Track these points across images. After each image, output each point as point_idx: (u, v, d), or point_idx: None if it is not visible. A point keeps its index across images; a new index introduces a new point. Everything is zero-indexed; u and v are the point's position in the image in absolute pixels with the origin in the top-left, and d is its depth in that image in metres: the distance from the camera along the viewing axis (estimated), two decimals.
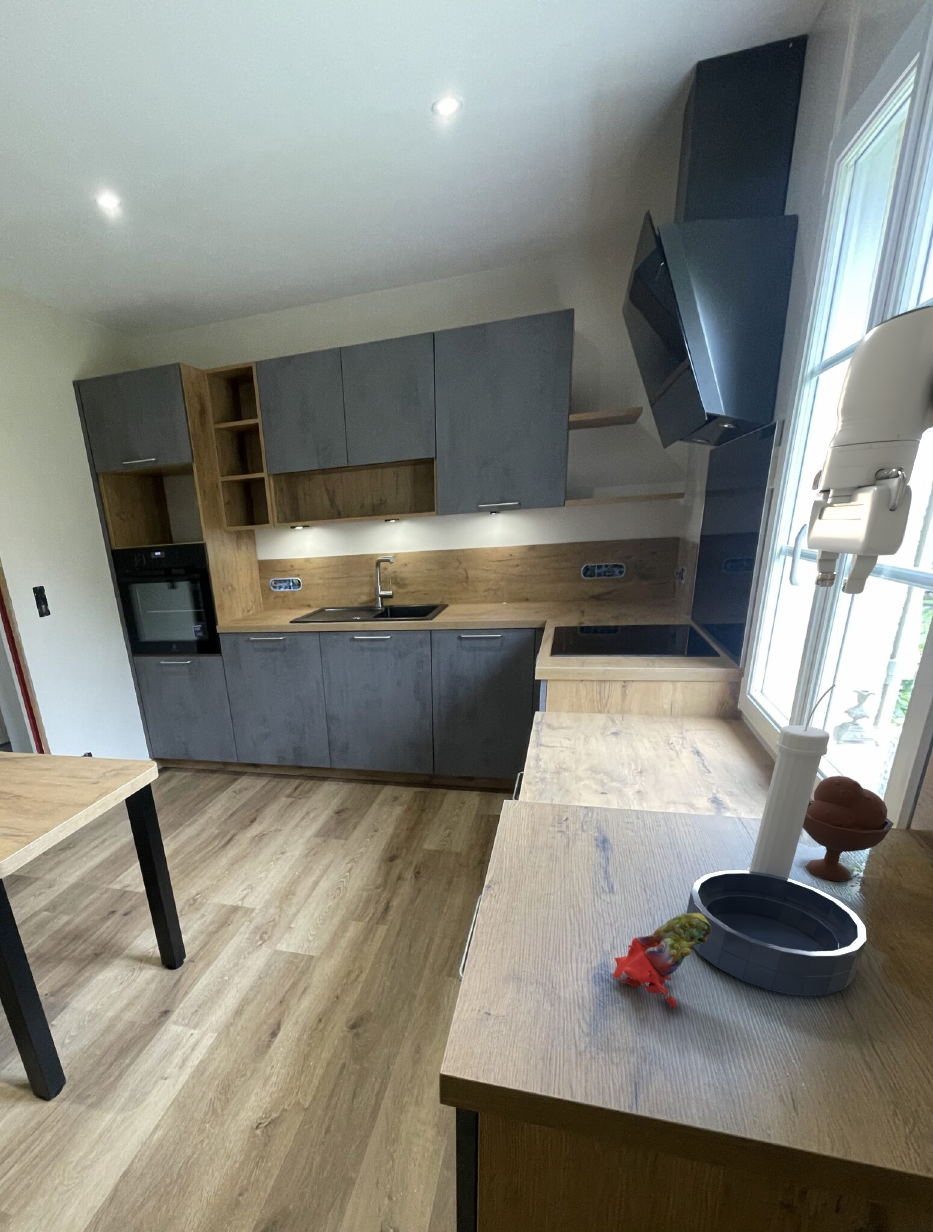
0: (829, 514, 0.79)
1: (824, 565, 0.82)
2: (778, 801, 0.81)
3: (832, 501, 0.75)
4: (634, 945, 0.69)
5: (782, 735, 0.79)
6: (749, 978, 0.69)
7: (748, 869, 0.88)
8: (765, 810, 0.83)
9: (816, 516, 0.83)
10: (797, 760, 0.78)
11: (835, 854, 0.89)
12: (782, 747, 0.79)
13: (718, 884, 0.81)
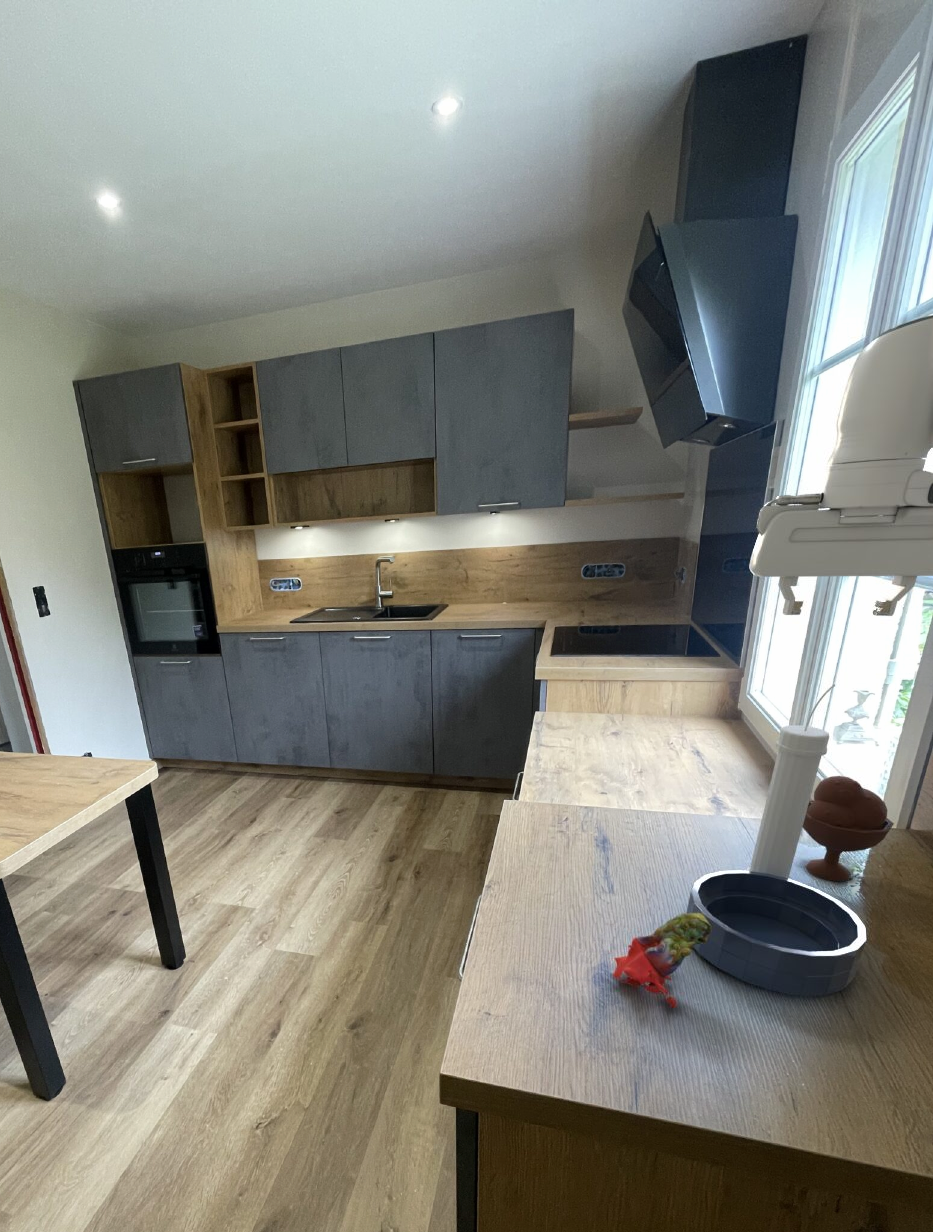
0: None
1: (893, 591, 0.72)
2: (778, 801, 0.81)
3: None
4: (634, 945, 0.69)
5: (782, 735, 0.79)
6: (749, 978, 0.69)
7: (748, 869, 0.88)
8: (765, 810, 0.83)
9: None
10: (797, 760, 0.78)
11: (835, 854, 0.89)
12: (782, 747, 0.79)
13: (718, 884, 0.81)
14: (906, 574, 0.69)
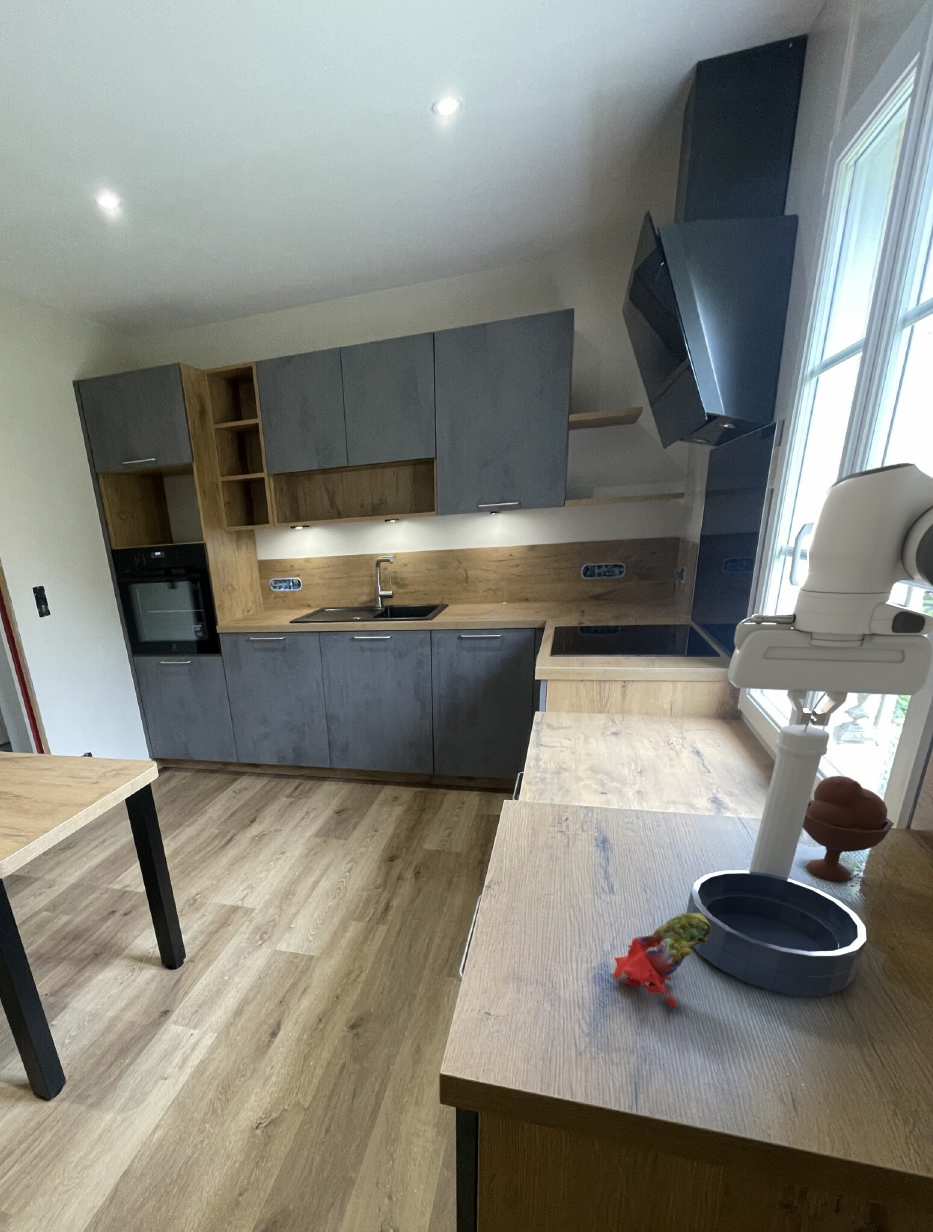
0: None
1: (828, 703, 0.77)
2: (778, 801, 0.81)
3: None
4: (634, 945, 0.69)
5: (782, 735, 0.79)
6: (749, 978, 0.69)
7: (748, 869, 0.88)
8: (765, 810, 0.83)
9: None
10: (797, 760, 0.78)
11: (835, 854, 0.89)
12: (781, 747, 0.79)
13: (718, 884, 0.81)
14: (873, 692, 0.73)
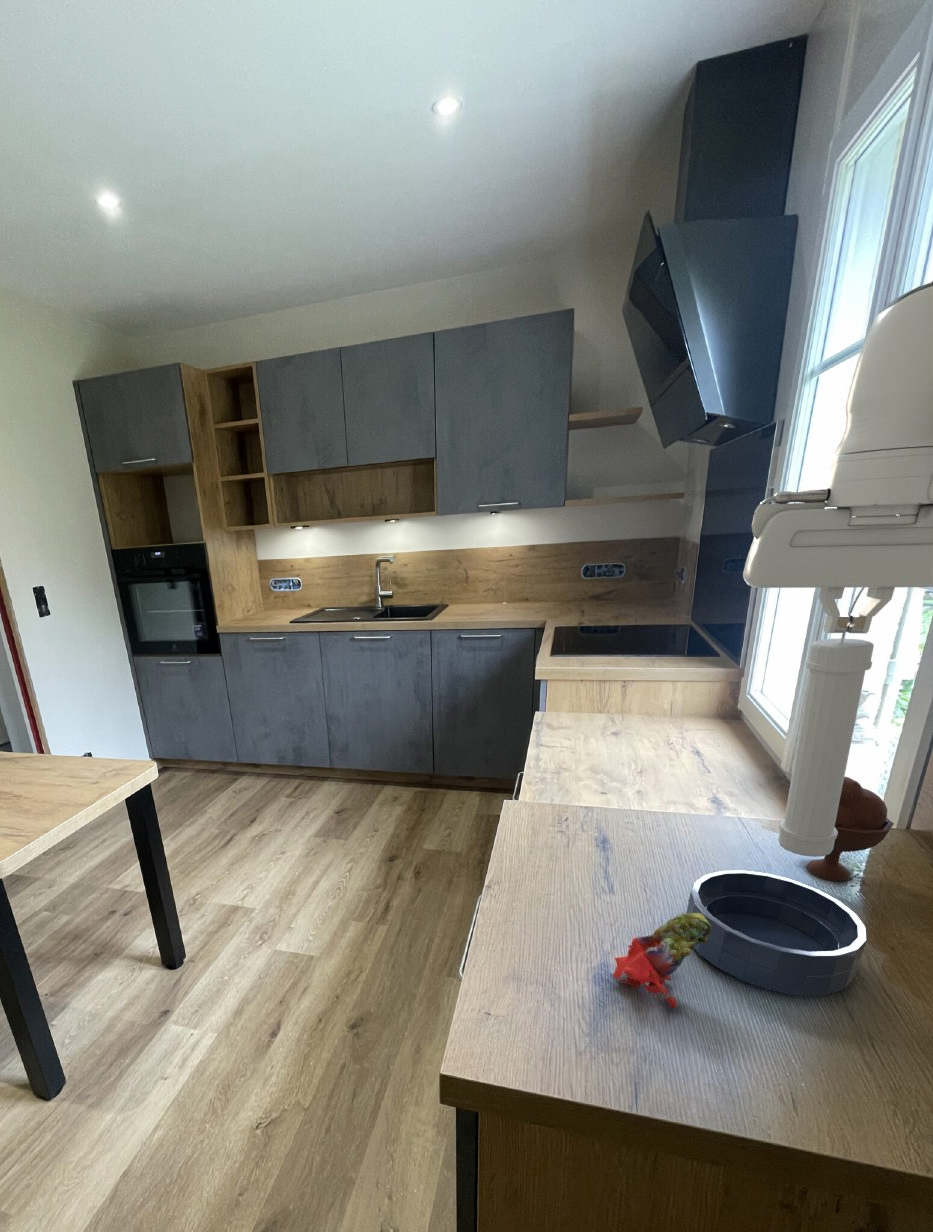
0: None
1: (868, 605, 0.62)
2: (819, 735, 0.65)
3: None
4: (634, 945, 0.69)
5: (816, 651, 0.63)
6: (749, 978, 0.69)
7: (782, 824, 0.72)
8: (800, 749, 0.67)
9: None
10: (840, 679, 0.62)
11: (835, 854, 0.89)
12: (818, 666, 0.63)
13: (718, 884, 0.81)
14: (929, 585, 0.58)
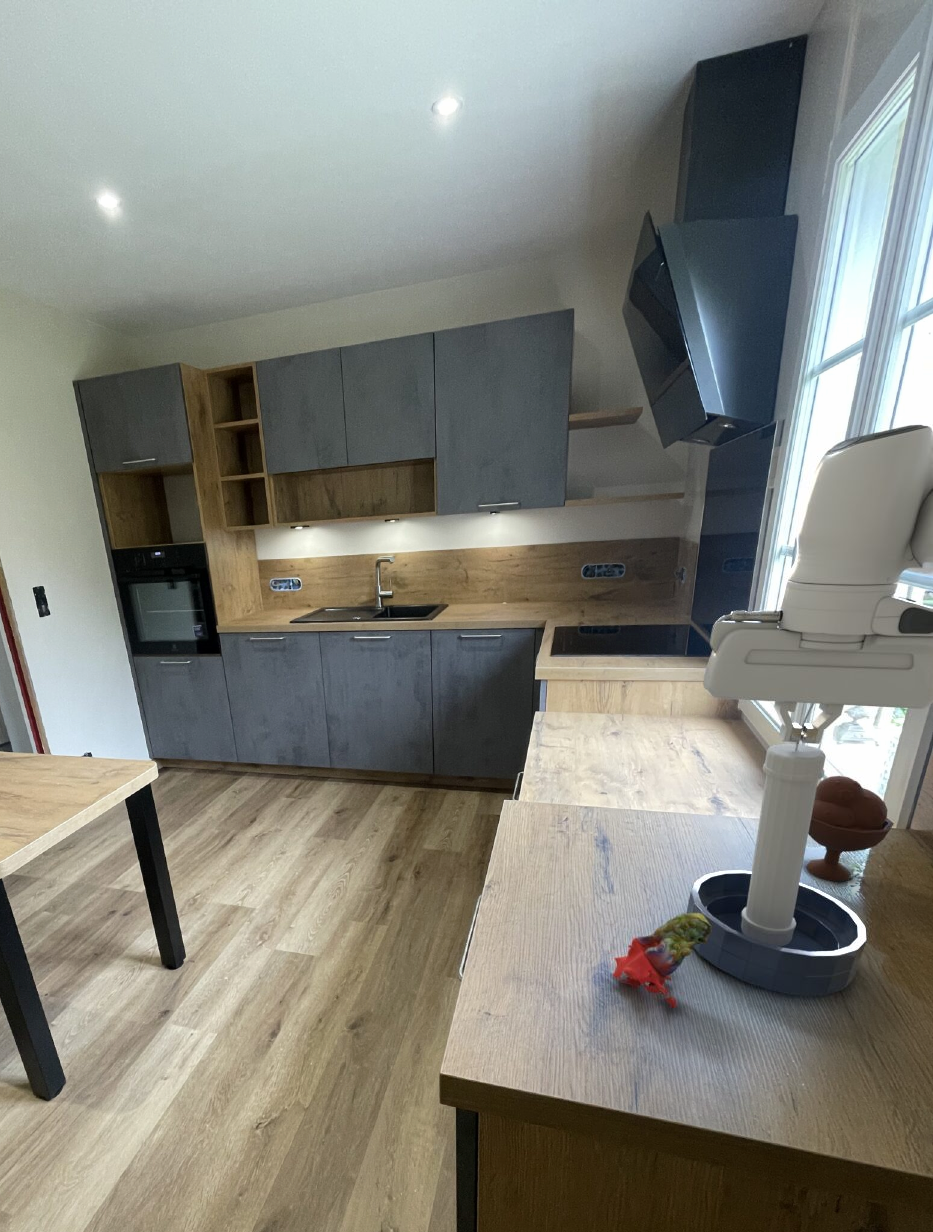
0: None
1: (820, 717, 0.65)
2: (775, 836, 0.68)
3: None
4: (634, 945, 0.69)
5: (772, 759, 0.66)
6: (749, 978, 0.69)
7: (744, 913, 0.75)
8: (759, 846, 0.70)
9: None
10: (794, 787, 0.65)
11: (835, 854, 0.89)
12: (773, 773, 0.66)
13: (718, 884, 0.81)
14: (876, 705, 0.61)
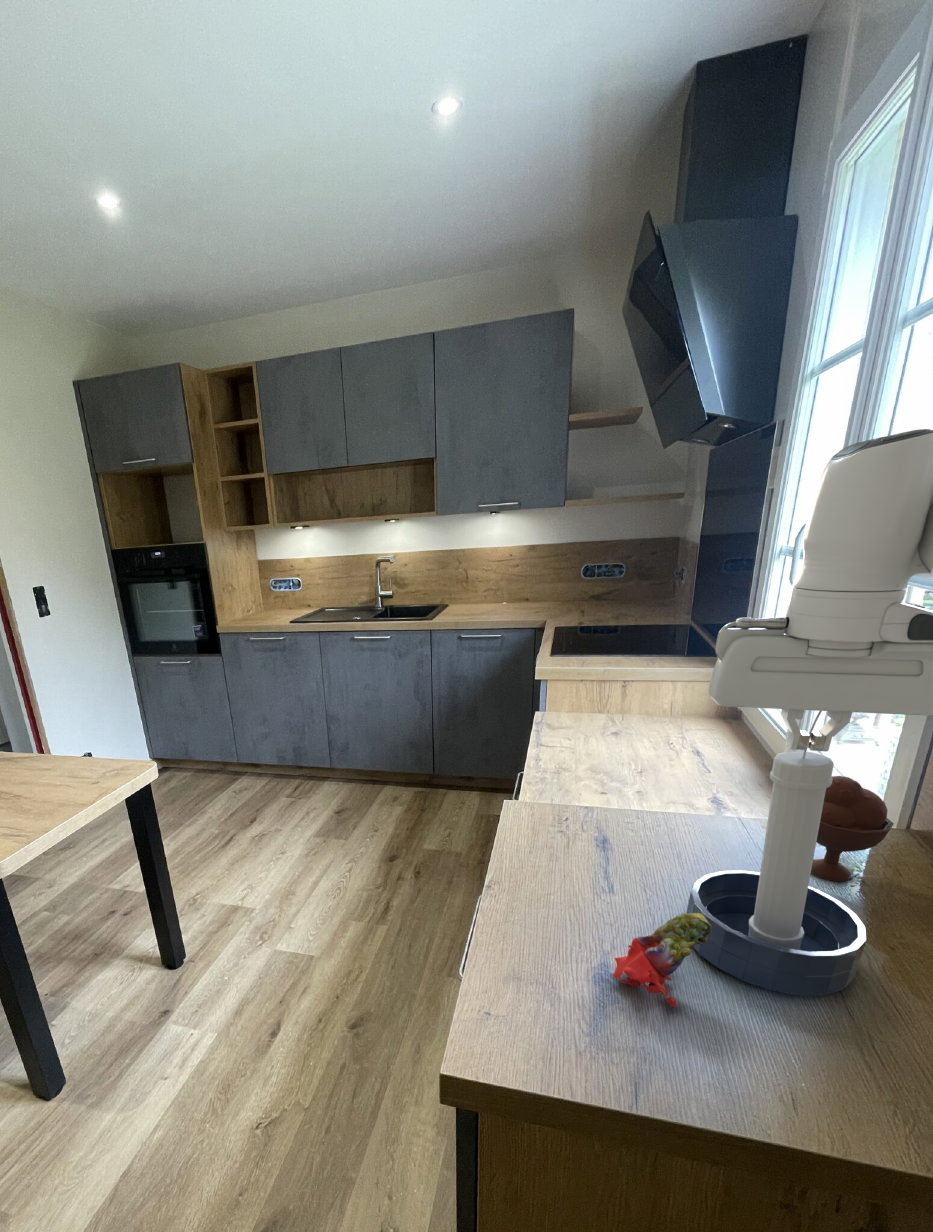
0: None
1: (828, 724, 0.64)
2: (783, 844, 0.67)
3: None
4: (634, 945, 0.69)
5: (779, 767, 0.65)
6: (749, 978, 0.69)
7: (751, 921, 0.74)
8: (766, 854, 0.69)
9: None
10: (801, 795, 0.64)
11: (835, 854, 0.89)
12: (781, 781, 0.65)
13: (718, 884, 0.81)
14: (885, 712, 0.60)
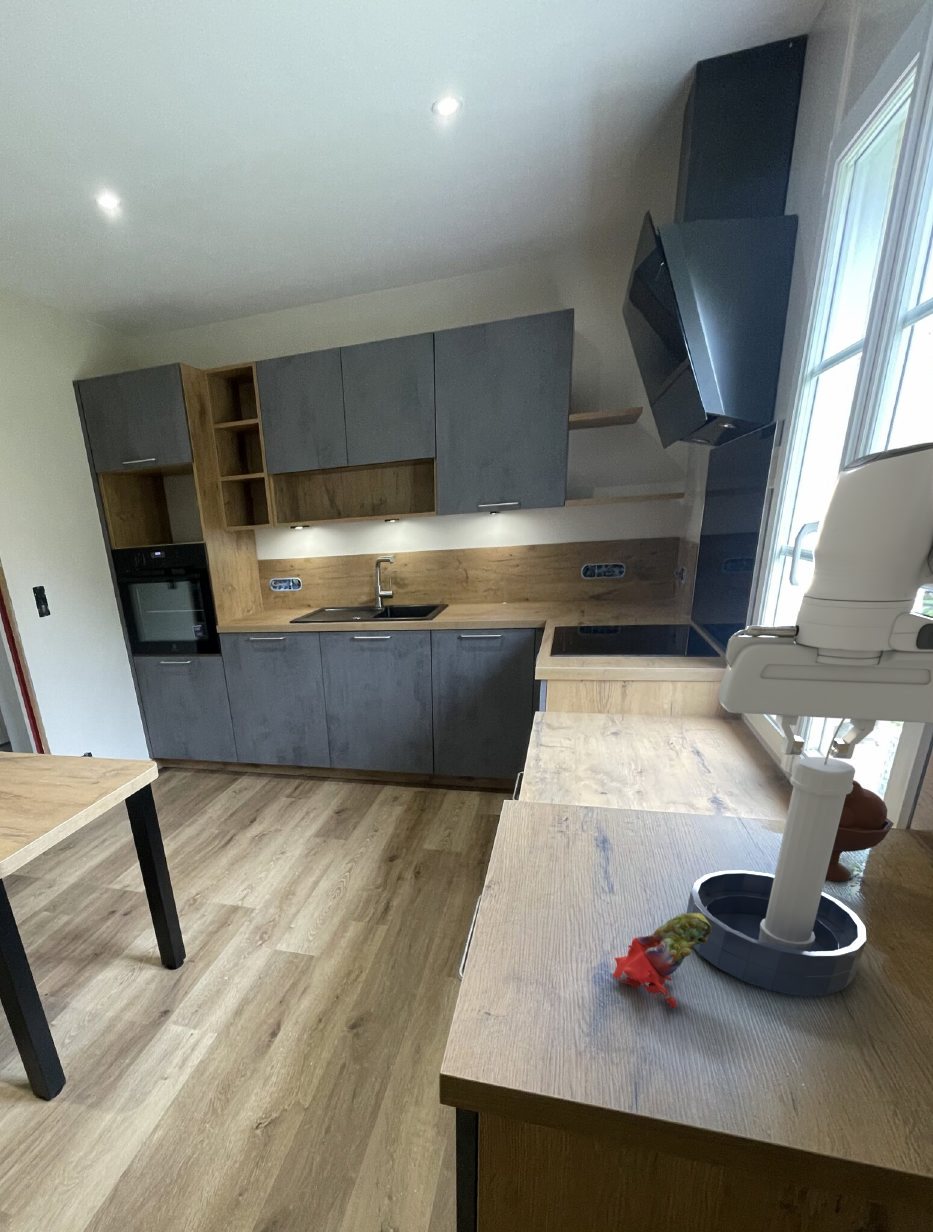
0: None
1: (851, 732, 0.64)
2: (800, 849, 0.68)
3: None
4: (634, 945, 0.69)
5: (801, 772, 0.66)
6: (749, 978, 0.69)
7: (763, 925, 0.75)
8: (782, 858, 0.70)
9: None
10: (822, 801, 0.65)
11: (835, 854, 0.89)
12: (802, 786, 0.66)
13: (718, 884, 0.81)
14: (893, 720, 0.61)
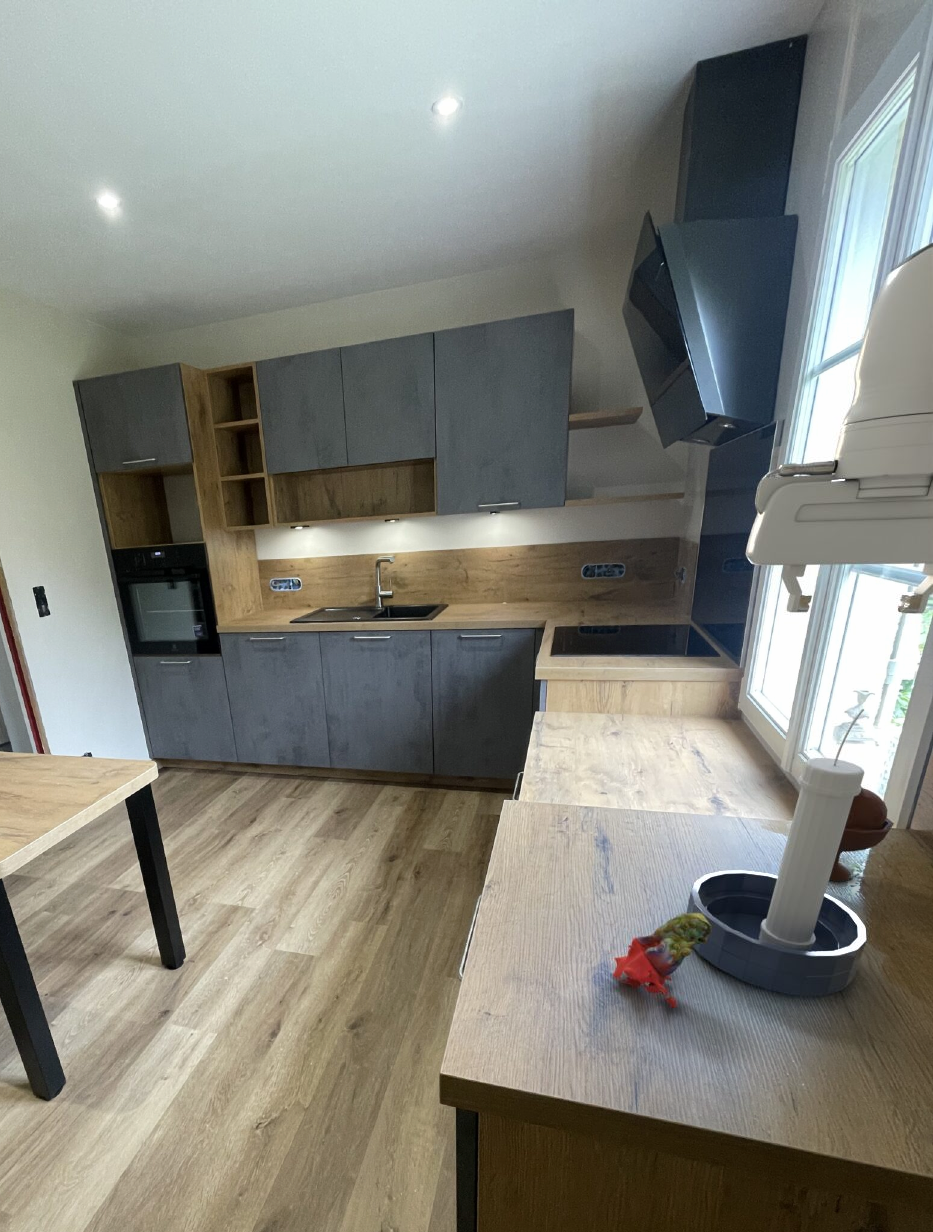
0: None
1: (924, 583, 0.58)
2: (806, 849, 0.68)
3: None
4: (634, 945, 0.69)
5: (810, 772, 0.66)
6: (749, 978, 0.69)
7: (764, 925, 0.75)
8: (787, 859, 0.70)
9: None
10: (830, 801, 0.65)
11: None
12: (810, 786, 0.66)
13: (718, 884, 0.81)
14: None
